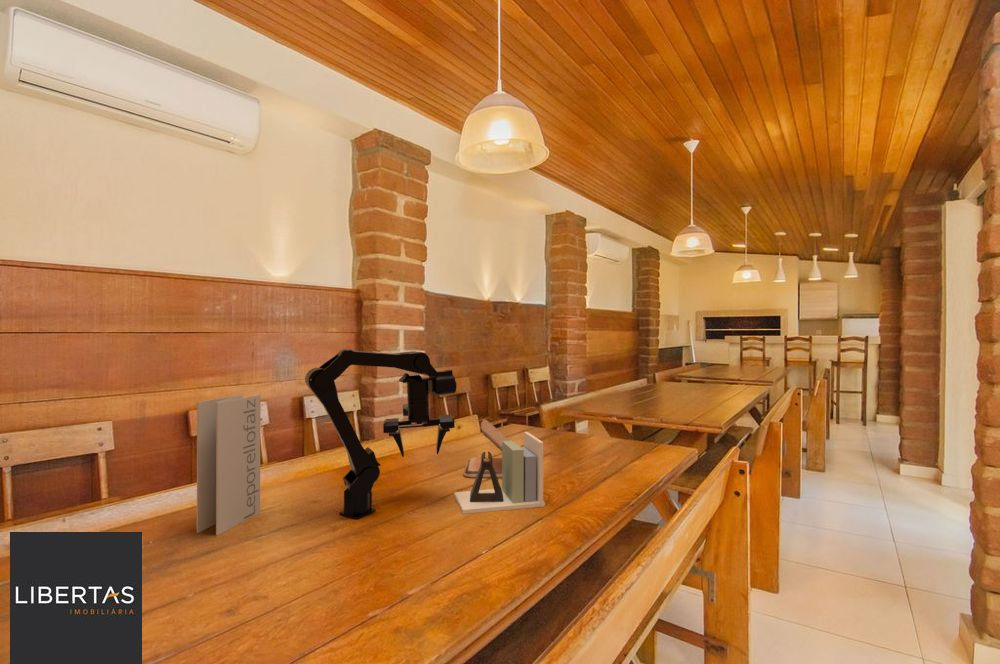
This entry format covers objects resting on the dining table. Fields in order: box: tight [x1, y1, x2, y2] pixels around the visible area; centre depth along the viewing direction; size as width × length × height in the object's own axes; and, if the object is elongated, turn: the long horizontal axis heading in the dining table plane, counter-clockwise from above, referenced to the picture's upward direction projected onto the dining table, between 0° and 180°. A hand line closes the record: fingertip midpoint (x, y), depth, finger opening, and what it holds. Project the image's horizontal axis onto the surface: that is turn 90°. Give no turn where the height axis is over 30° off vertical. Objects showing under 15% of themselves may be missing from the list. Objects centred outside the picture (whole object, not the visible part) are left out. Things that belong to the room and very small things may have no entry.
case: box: [462, 418, 511, 479], centre depth 163 cm, size 20×21×16 cm
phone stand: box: [470, 451, 504, 502], centre depth 132 cm, size 9×6×12 cm, turn 92°
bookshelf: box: [453, 431, 546, 515], centre depth 133 cm, size 22×14×17 cm, turn 105°
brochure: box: [196, 393, 261, 536], centre depth 117 cm, size 14×6×30 cm, turn 168°
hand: (420, 455), depth 132 cm, fingers open, 9 cm apart
